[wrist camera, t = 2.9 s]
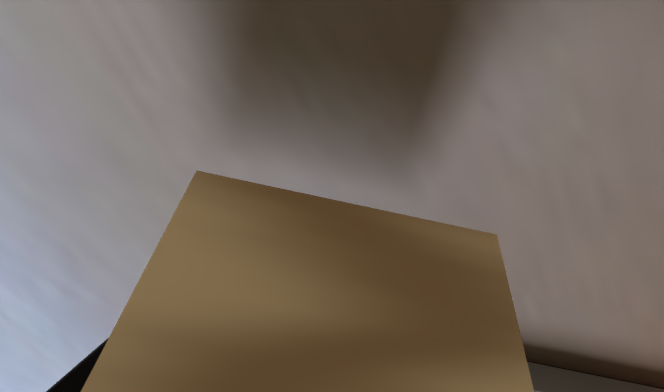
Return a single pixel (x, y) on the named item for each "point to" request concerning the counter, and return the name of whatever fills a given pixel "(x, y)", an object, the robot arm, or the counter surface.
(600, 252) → the counter surface
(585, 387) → the baseplate
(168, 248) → the maple block
